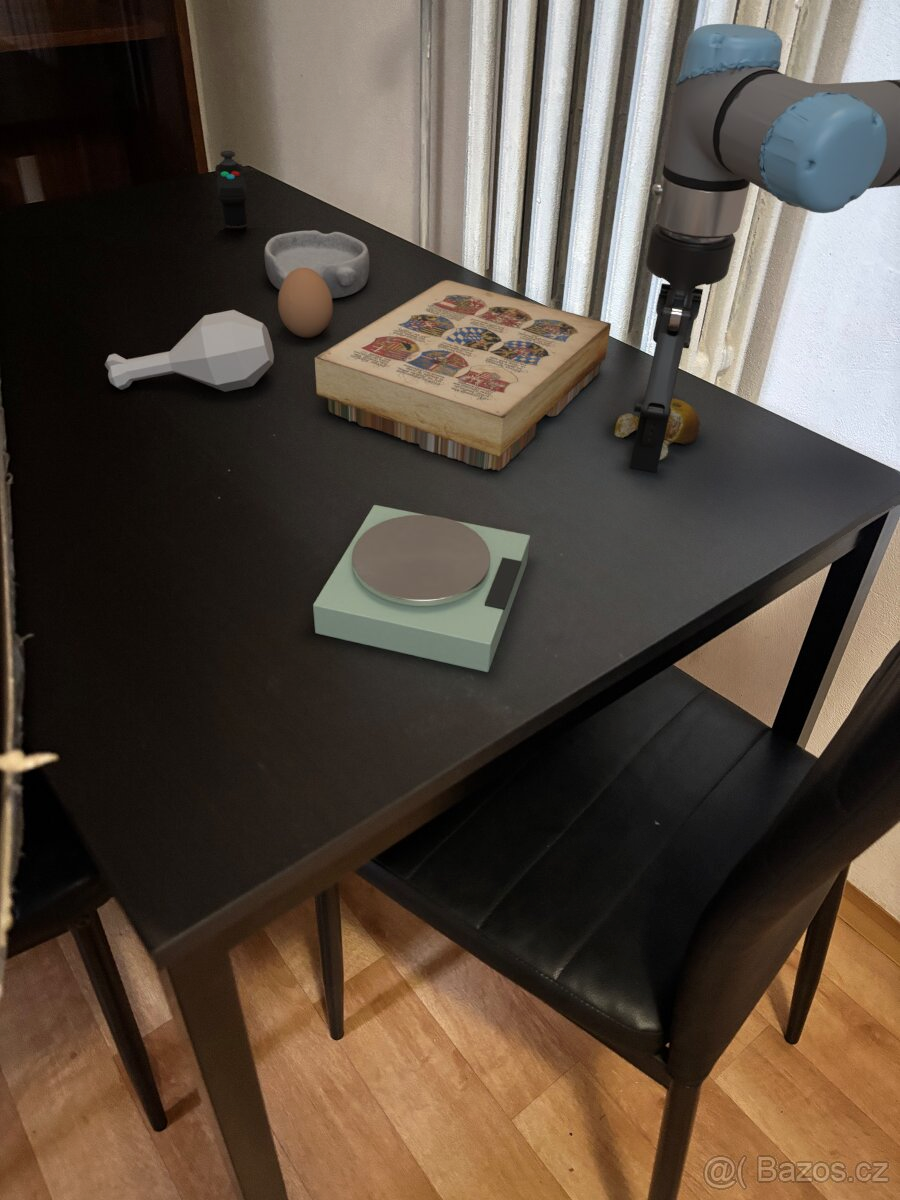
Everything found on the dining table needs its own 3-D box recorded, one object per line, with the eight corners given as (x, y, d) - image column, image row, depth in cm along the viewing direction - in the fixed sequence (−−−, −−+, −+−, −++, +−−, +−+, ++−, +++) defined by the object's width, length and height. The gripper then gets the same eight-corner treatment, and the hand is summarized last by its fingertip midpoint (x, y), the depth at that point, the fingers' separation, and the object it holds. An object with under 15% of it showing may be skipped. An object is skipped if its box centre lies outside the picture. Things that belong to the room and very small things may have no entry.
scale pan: (503, 534, 76) (504, 529, 75) (470, 619, 68) (470, 613, 67) (379, 510, 78) (378, 504, 77) (331, 589, 70) (331, 583, 69)
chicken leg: (124, 369, 104) (89, 319, 97) (277, 339, 103) (254, 287, 96) (123, 428, 101) (87, 381, 93) (281, 398, 100) (258, 348, 92)
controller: (249, 215, 142) (241, 146, 135) (253, 244, 133) (245, 171, 126) (220, 216, 141) (212, 147, 135) (223, 245, 132) (214, 172, 126)
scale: (528, 562, 79) (531, 532, 77) (489, 673, 68) (492, 642, 66) (374, 531, 81) (373, 502, 79) (314, 633, 71) (312, 602, 69)
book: (431, 318, 116) (296, 406, 98) (432, 268, 112) (292, 350, 94) (608, 369, 108) (497, 476, 89) (617, 317, 103) (503, 418, 85)
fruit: (605, 426, 97) (610, 395, 94) (669, 411, 100) (675, 381, 97) (649, 465, 91) (656, 433, 89) (716, 449, 94) (724, 417, 92)
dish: (366, 305, 118) (365, 267, 115) (259, 301, 118) (255, 263, 114) (373, 263, 129) (372, 227, 126) (275, 260, 129) (272, 223, 125)
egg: (345, 333, 112) (342, 267, 106) (310, 352, 107) (306, 284, 102) (304, 320, 114) (299, 254, 109) (269, 337, 110) (263, 270, 105)
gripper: (666, 182, 91) (630, 376, 105) (635, 273, 73) (597, 491, 87) (742, 192, 90) (695, 386, 104) (730, 286, 72) (676, 506, 86)
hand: (650, 435), depth 96 cm, fingers open, 13 cm apart
